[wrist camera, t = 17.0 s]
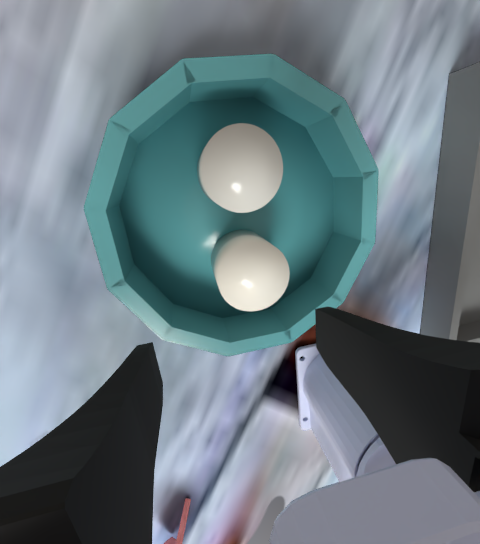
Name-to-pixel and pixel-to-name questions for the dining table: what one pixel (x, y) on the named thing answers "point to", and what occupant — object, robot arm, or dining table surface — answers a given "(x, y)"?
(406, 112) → the dining table surface
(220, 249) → the stone
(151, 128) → the bowl
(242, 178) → the stone
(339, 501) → the robot arm
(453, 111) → the tray
